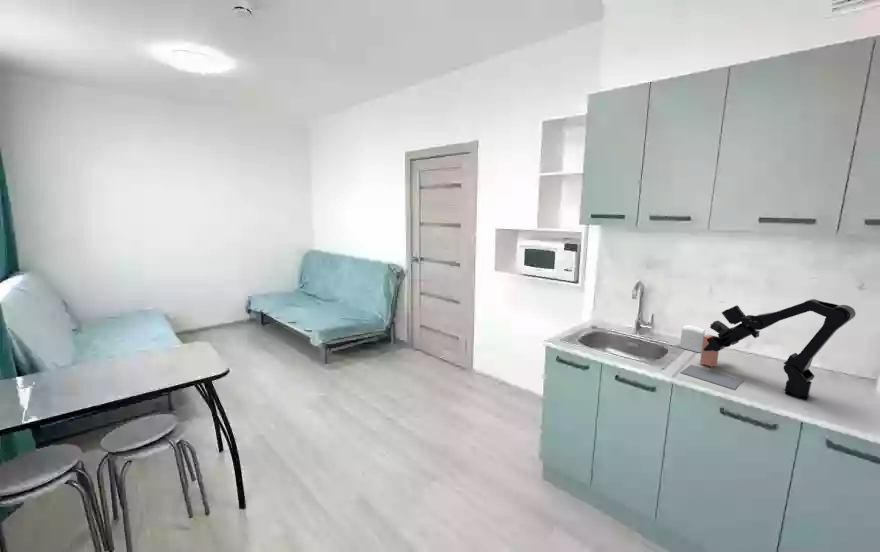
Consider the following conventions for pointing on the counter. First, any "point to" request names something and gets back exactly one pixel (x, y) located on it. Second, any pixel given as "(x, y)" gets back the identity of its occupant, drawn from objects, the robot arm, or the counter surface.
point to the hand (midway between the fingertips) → (706, 348)
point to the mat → (712, 376)
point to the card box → (708, 353)
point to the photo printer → (692, 338)
